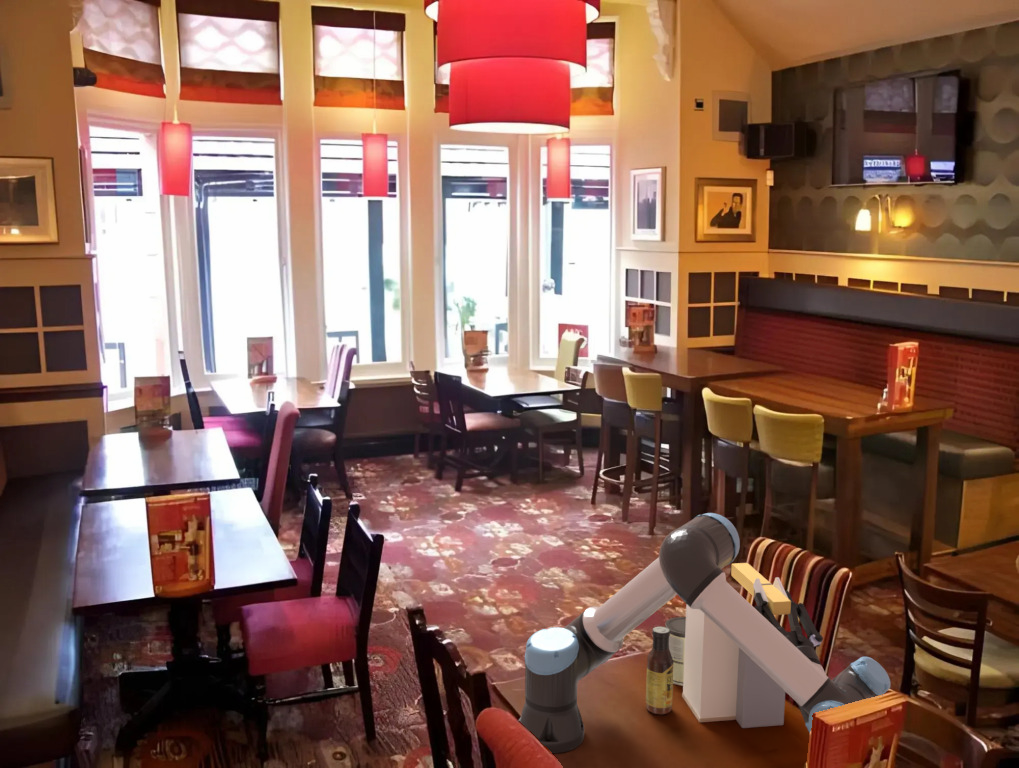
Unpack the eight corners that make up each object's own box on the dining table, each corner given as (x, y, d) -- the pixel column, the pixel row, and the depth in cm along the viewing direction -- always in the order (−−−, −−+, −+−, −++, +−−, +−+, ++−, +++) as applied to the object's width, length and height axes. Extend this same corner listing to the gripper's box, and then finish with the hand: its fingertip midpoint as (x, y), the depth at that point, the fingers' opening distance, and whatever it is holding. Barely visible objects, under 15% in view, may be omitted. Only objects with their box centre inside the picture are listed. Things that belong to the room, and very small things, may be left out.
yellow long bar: (790, 614, 202) (791, 600, 201) (772, 615, 201) (773, 601, 200) (747, 574, 225) (747, 562, 224) (731, 575, 224) (731, 563, 224)
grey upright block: (783, 724, 213) (788, 635, 209) (742, 728, 211) (746, 637, 208) (762, 699, 224) (766, 613, 221) (722, 701, 223) (726, 616, 219)
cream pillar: (738, 719, 215) (743, 610, 211) (699, 722, 214) (703, 612, 209) (718, 693, 227) (723, 589, 223) (681, 696, 226) (685, 591, 221)
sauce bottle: (671, 717, 216) (674, 637, 213) (644, 714, 217) (647, 635, 214) (672, 703, 222) (675, 625, 219) (646, 700, 224) (648, 623, 220)
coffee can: (675, 663, 243) (677, 613, 240) (711, 675, 236) (713, 623, 234) (656, 678, 235) (657, 626, 232) (692, 690, 228) (695, 637, 226)
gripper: (760, 684, 192) (726, 594, 210) (837, 678, 195) (797, 590, 213) (769, 663, 188) (733, 573, 205) (848, 657, 190) (805, 568, 208)
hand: (765, 581), depth 209 cm, fingers closed on yellow long bar, 4 cm apart
